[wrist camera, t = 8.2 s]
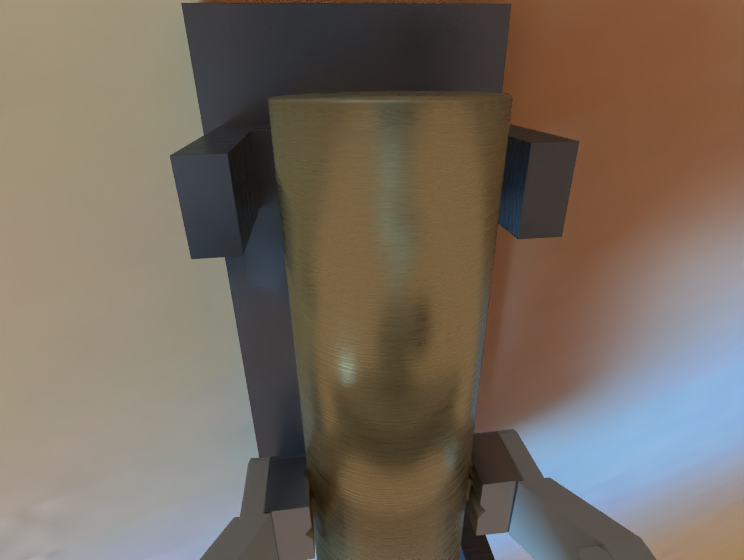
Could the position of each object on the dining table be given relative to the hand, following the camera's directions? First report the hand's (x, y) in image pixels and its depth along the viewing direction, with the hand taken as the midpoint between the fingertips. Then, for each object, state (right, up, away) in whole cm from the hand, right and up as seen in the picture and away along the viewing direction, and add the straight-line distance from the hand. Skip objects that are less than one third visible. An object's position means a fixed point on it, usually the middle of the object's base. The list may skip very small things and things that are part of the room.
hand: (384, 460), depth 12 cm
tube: (0, +1, +1) cm, 2 cm away
